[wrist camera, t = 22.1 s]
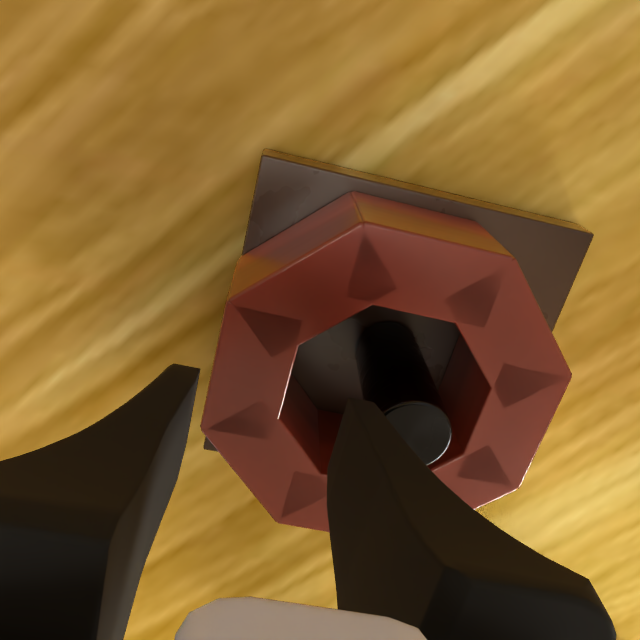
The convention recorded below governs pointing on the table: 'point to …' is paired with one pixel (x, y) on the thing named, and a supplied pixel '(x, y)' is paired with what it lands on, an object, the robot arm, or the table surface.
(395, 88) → the table surface
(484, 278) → the ring
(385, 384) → the post
